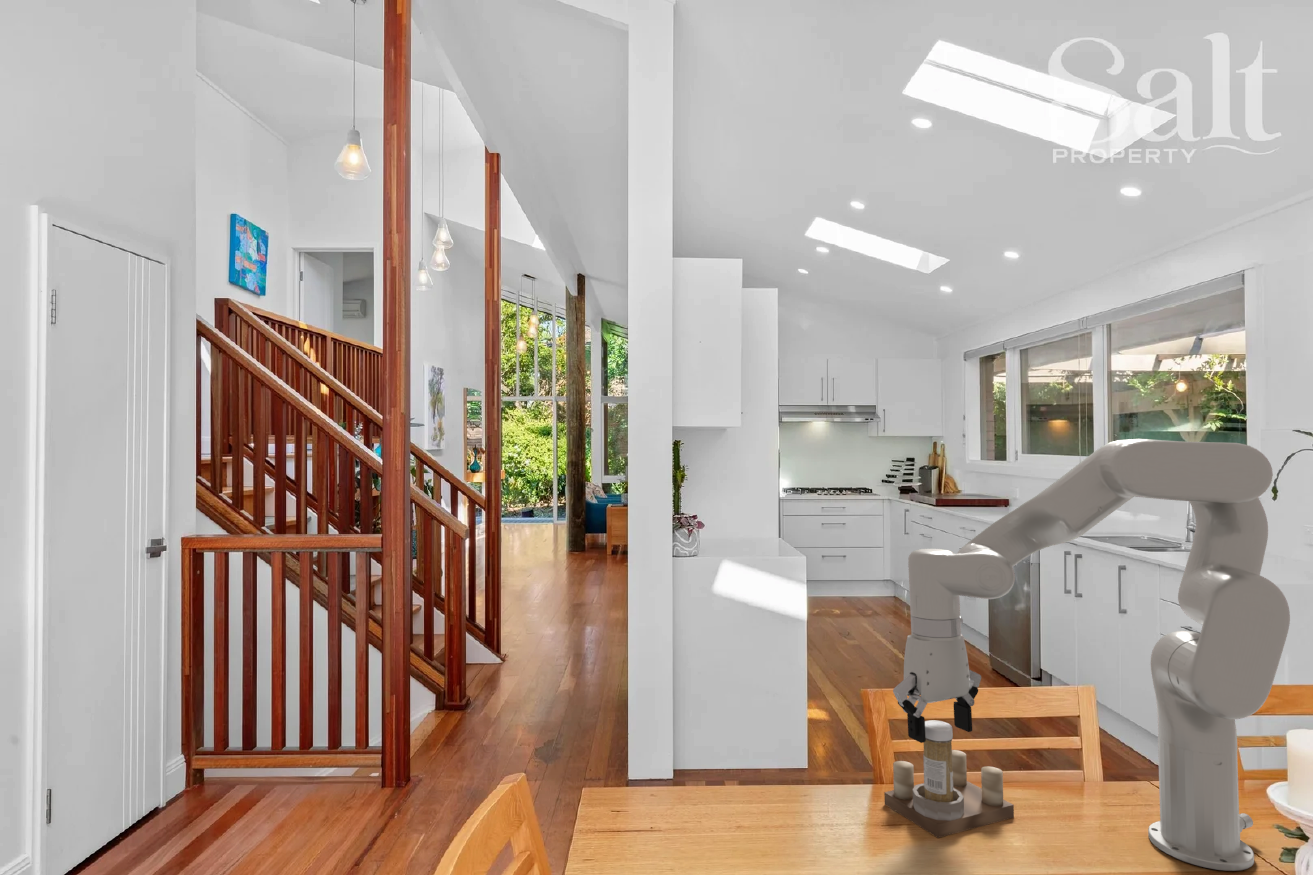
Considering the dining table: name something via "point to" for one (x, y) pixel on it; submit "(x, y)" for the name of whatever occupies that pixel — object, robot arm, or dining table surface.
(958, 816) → the bottle holder base
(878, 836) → the dining table surface
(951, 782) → the sprinkles bottle
